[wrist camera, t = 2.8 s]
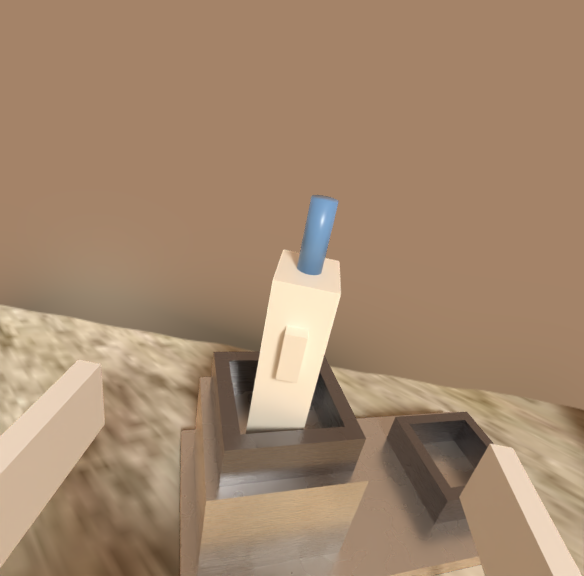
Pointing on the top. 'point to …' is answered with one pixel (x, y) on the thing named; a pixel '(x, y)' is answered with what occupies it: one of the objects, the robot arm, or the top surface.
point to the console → (322, 486)
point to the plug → (297, 327)
